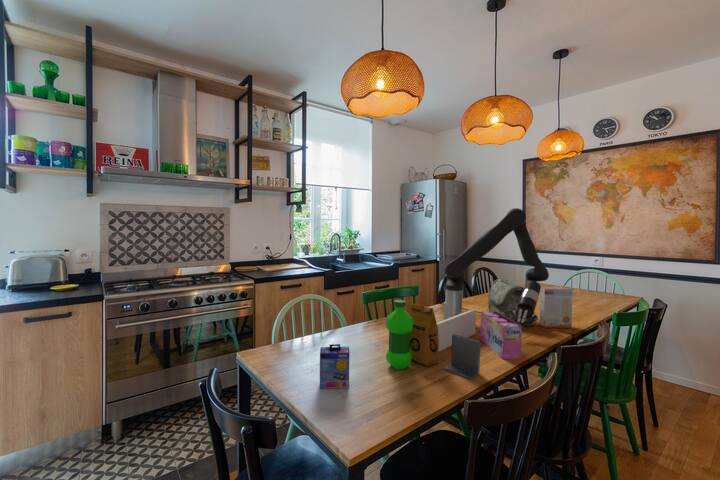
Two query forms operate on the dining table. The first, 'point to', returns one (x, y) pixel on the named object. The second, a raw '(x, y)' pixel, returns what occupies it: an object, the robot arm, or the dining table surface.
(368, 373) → the dining table surface
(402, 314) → the plastic bottle
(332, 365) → the ink cartridge box
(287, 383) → the dining table surface
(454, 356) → the bookend
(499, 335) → the gum box
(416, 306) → the coffee package
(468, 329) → the shelf wall
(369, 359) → the dining table surface
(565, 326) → the cracker box
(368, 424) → the dining table surface
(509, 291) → the lunch bag
